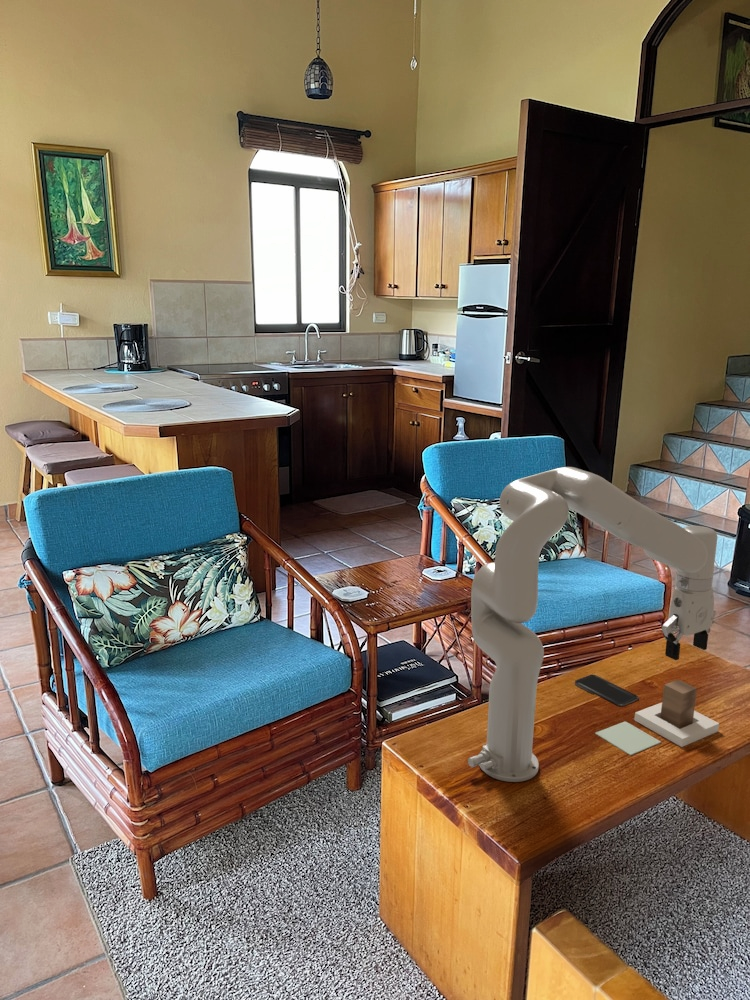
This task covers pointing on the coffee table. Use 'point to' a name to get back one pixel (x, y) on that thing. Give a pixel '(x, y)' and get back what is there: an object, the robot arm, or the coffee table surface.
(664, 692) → the walnut block
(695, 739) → the pocket plate
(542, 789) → the coffee table surface
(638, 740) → the green mat
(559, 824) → the coffee table surface
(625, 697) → the phone
